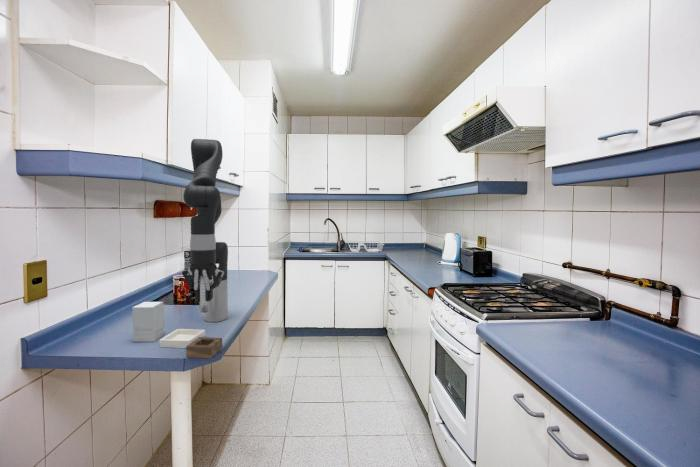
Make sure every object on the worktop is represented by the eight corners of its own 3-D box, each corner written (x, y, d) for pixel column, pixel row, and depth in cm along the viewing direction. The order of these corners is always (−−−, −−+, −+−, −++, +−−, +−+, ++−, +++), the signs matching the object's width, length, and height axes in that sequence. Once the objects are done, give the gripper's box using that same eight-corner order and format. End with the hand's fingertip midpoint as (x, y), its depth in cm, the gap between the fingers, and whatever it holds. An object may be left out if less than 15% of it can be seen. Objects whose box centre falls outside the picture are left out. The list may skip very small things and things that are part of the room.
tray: (177, 335, 121) (177, 328, 121) (205, 336, 120) (205, 329, 120) (159, 347, 110) (159, 339, 110) (189, 348, 110) (189, 341, 110)
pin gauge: (202, 310, 107) (201, 274, 106) (210, 310, 107) (209, 274, 106) (198, 312, 105) (197, 275, 104) (206, 312, 104) (205, 276, 104)
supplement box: (165, 334, 122) (164, 301, 121) (154, 342, 115) (153, 307, 114) (145, 334, 122) (144, 301, 121) (132, 342, 114) (131, 307, 114)
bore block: (199, 347, 111) (199, 337, 111) (222, 347, 110) (222, 337, 110) (186, 357, 103) (186, 346, 103) (210, 358, 102) (210, 347, 102)
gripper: (229, 247, 108) (229, 298, 109) (188, 246, 109) (189, 297, 110) (218, 249, 100) (219, 304, 101) (175, 248, 101) (176, 303, 102)
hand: (204, 300), depth 106 cm, fingers closed on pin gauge, 2 cm apart
